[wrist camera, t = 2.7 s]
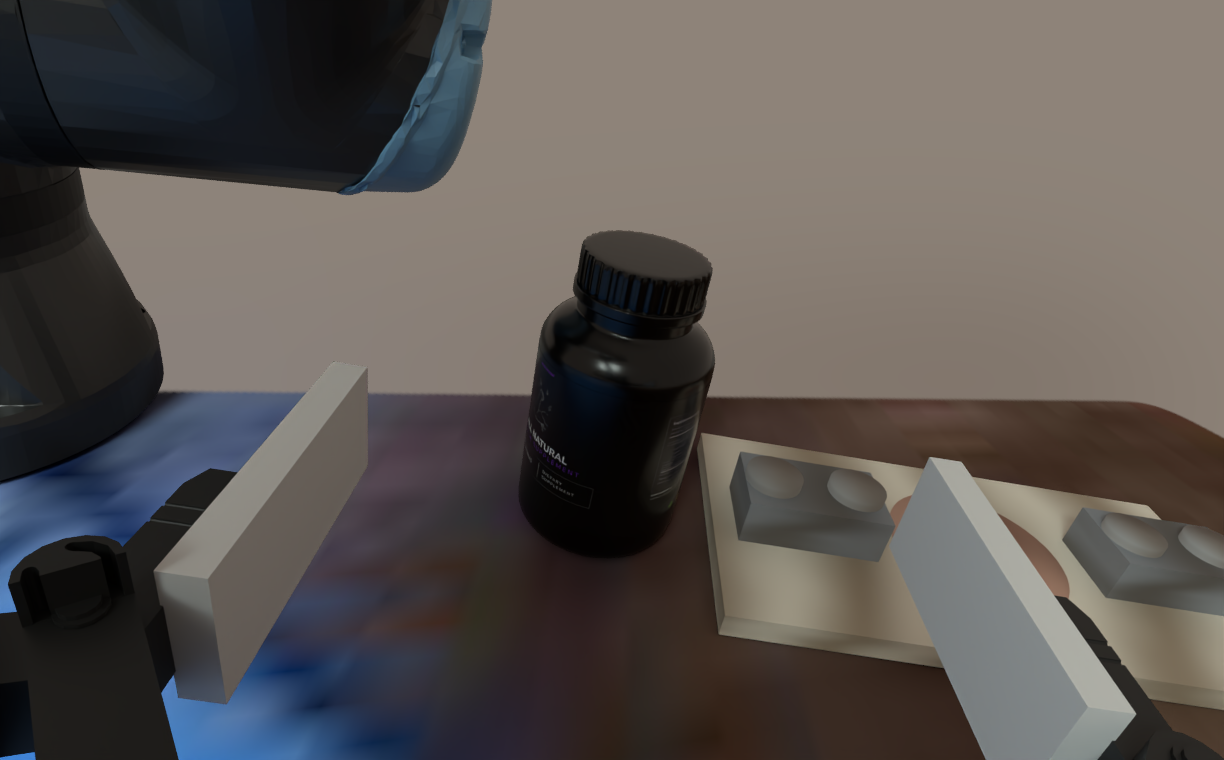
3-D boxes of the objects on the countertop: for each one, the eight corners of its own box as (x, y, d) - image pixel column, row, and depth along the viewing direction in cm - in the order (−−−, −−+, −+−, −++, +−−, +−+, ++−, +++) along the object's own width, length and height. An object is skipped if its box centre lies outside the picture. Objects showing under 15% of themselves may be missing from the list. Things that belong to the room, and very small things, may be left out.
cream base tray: (718, 634, 26) (742, 567, 24) (696, 448, 36) (712, 392, 35) (1328, 725, 27) (1390, 667, 25) (1137, 520, 38) (1172, 469, 36)
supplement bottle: (486, 525, 29) (515, 248, 23) (557, 445, 35) (594, 207, 29) (642, 590, 27) (715, 309, 22) (688, 494, 33) (756, 252, 27)
